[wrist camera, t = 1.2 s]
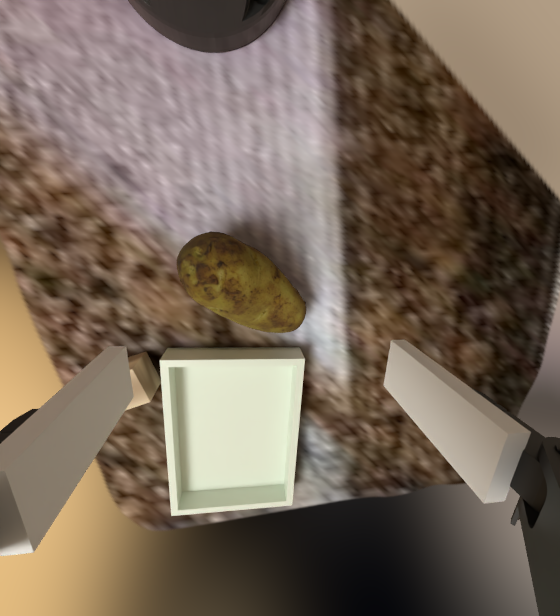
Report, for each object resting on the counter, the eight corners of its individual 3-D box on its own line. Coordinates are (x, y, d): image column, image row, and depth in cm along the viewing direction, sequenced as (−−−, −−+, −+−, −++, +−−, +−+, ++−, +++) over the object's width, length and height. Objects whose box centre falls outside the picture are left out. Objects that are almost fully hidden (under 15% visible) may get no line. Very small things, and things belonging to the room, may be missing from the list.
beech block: (111, 362, 30) (92, 382, 26) (146, 351, 30) (132, 368, 26) (128, 391, 31) (111, 414, 27) (161, 380, 31) (150, 401, 27)
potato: (248, 348, 31) (250, 386, 24) (175, 255, 27) (149, 265, 20) (308, 308, 31) (329, 334, 23) (242, 208, 27) (242, 200, 19)
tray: (167, 347, 30) (159, 360, 27) (299, 347, 32) (304, 358, 29) (177, 492, 36) (171, 515, 33) (288, 484, 38) (292, 505, 35)
